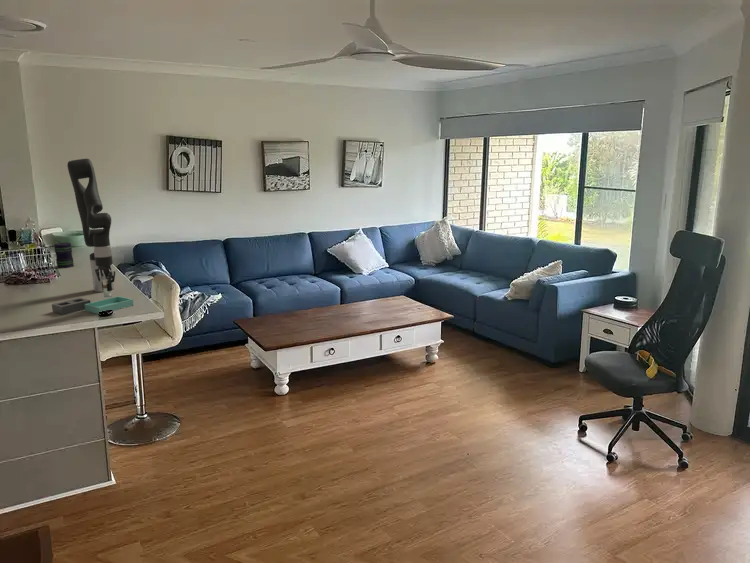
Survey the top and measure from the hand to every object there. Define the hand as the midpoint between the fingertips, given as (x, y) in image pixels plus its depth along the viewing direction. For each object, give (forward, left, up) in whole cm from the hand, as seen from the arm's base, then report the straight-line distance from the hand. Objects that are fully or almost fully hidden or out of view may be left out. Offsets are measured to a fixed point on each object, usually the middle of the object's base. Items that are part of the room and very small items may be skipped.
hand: (107, 290), depth 289 cm
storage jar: (-42, -115, -9) cm, 123 cm away
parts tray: (0, 0, -9) cm, 9 cm away
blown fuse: (0, 0, -3) cm, 3 cm away
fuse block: (+12, -12, -9) cm, 19 cm away
